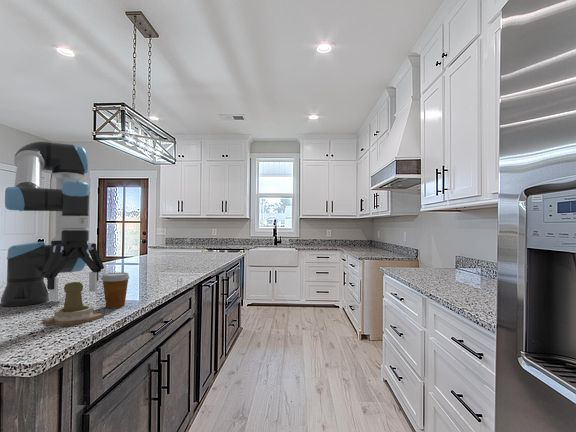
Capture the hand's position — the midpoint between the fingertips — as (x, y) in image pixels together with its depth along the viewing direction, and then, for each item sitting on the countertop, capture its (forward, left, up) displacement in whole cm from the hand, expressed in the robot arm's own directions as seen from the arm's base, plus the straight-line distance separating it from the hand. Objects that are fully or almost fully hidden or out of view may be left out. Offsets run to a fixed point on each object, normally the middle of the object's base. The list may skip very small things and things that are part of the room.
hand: (74, 295), depth 113 cm
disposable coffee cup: (-3, +19, -8) cm, 21 cm away
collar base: (0, 0, -8) cm, 8 cm away
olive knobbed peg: (0, -1, -7) cm, 7 cm away
